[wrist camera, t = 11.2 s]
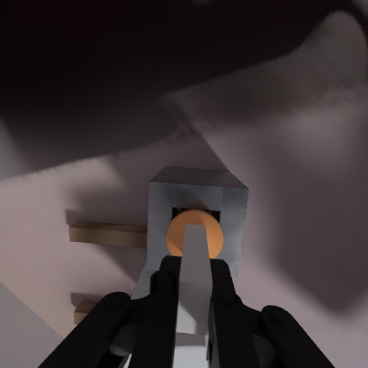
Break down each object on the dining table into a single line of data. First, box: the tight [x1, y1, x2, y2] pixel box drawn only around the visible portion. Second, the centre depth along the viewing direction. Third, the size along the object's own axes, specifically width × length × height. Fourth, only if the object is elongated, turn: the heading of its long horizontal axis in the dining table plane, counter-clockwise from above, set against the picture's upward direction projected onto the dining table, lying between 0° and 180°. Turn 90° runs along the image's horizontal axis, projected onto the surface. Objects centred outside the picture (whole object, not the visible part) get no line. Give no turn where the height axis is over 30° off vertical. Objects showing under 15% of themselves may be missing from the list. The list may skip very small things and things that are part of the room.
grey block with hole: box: [146, 167, 249, 278], centre depth 22 cm, size 8×8×10 cm
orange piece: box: [166, 208, 223, 259], centre depth 19 cm, size 4×4×7 cm
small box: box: [124, 262, 209, 368], centre depth 23 cm, size 8×6×13 cm
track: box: [69, 221, 148, 324], centre depth 29 cm, size 20×15×2 cm
